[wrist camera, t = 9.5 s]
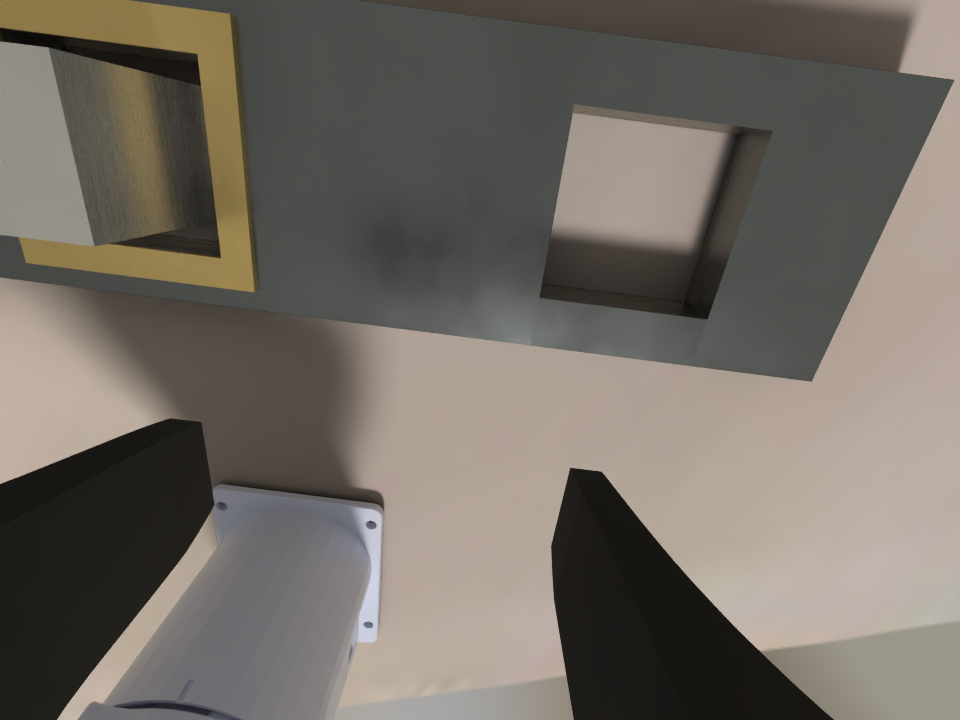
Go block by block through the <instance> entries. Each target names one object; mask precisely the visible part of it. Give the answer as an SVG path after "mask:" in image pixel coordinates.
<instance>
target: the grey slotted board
mask: <svg viewBox="0 0 960 720" xmlns="http://www.w3.org/2000/svg"><path fill="white" fill-rule="evenodd" d="M0 42H8V43H16V44H24V45H32V46H40V47H48V48H52V49H56V50H60V51H64V52H65V47H64V45H65V46H73V47H80V48H88V49H95V50H103V51H110V52H118V53H126V54H133V55H141V56H148V57H156V58H163V59H171V60H179V61H186V62H194V63H198V64H199V72H200V81H201V89H202V98H203V107H204V115H205V124H206V133H207V141H208V150H209V158H210V167H211V176H212V184H213V193H214V202H215V210H216V219H217V227H218V236H219V242H216V241H208V240H200V239H193V238H185V237H177V236H170V235H162V234H153V235H148V236H143V237H138V238H133V239H129V240H124V241H119V242H114V243H109V244H105V245H100V246H95V247H94V246H86V245H78V244H70V243H62V242H54V241H46V240H38V239H30V238H22V237H14V236H6V235H0V277H2V278H10V279H18V280H26V281H33V282H41V283H49V284H57V285H65V286H72V287H80V288H88V289H96V290H103V291H111V292H119V293H127V294H135V295H142V296H150V297H158V298H166V299H173V300H181V301H189V302H197V303H205V304H212V305H220V306H228V307H236V308H243V309H251V310H259V311H267V312H275V313H282V314H290V315H298V316H306V317H314V318H321V319H329V320H337V321H345V322H352V323H360V324H368V325H376V326H384V327H391V328H399V329H407V330H415V331H422V332H430V333H438V334H446V335H454V336H461V337H469V338H477V339H485V340H492V341H500V342H508V343H516V344H524V345H531V346H539V347H547V348H555V349H562V350H570V351H578V352H586V353H594V354H601V355H609V356H617V357H625V358H633V359H640V360H648V361H656V362H664V363H671V364H679V365H687V366H695V367H703V368H710V369H718V370H726V371H734V372H741V373H749V374H757V375H765V376H773V377H780V378H788V379H796V380H804V381H811V382H812V380H813V378H814V375H815V373H816V371H817V369H818V367H819V365H820V363H821V361H822V359H823V356H824V354H825V352H826V350H827V348H828V346H829V344H830V342H831V340H832V337H833V335H834V333H835V331H836V329H837V327H838V325H839V323H840V320H841V318H842V316H843V314H844V312H845V310H846V308H847V306H848V304H849V301H850V299H851V297H852V295H853V293H854V291H855V289H856V287H857V285H858V282H859V280H860V278H861V276H862V274H863V272H864V270H865V268H866V266H867V263H868V261H869V259H870V257H871V255H872V253H873V251H874V249H875V247H876V244H877V242H878V240H879V238H880V236H881V234H882V232H883V230H884V228H885V225H886V223H887V221H888V219H889V217H890V215H891V213H892V211H893V209H894V206H895V204H896V202H897V200H898V198H899V196H900V194H901V192H902V189H903V187H904V185H905V183H906V181H907V179H908V177H909V175H910V173H911V170H912V168H913V166H914V164H915V162H916V160H917V158H918V156H919V154H920V151H921V149H922V147H923V145H924V143H925V141H926V139H927V137H928V135H929V132H930V130H931V128H932V126H933V124H934V122H935V120H936V118H937V116H938V113H939V111H940V109H941V107H942V105H943V103H944V101H945V99H946V97H947V94H948V92H949V90H950V88H951V86H952V84H953V82H954V80H951V79H944V78H936V77H929V76H921V75H914V74H906V73H899V72H891V71H884V70H876V69H869V68H861V67H854V66H846V65H839V64H831V63H824V62H816V61H809V60H801V59H794V58H786V57H779V56H771V55H764V54H757V53H749V52H742V51H734V50H727V49H719V48H712V47H704V46H697V45H689V44H682V43H674V42H667V41H659V40H652V39H644V38H637V37H629V36H622V35H614V34H607V33H599V32H592V31H584V30H577V29H569V28H562V27H554V26H547V25H539V24H532V23H524V22H517V21H509V20H502V19H494V18H487V17H479V16H472V15H464V14H457V13H449V12H442V11H434V10H427V9H419V8H412V7H404V6H397V5H390V4H382V3H375V2H367V1H360V0H0ZM572 113H579V114H587V115H595V116H602V117H610V118H617V119H625V120H632V121H640V122H647V123H655V124H663V125H670V126H678V127H685V128H693V129H700V130H708V131H716V132H723V133H731V134H738V138H737V141H736V144H735V147H734V150H733V153H732V156H731V160H730V163H729V166H728V169H727V172H726V175H725V178H724V182H723V185H722V188H721V191H720V194H719V197H718V200H717V204H716V207H715V210H714V213H713V216H712V219H711V222H710V226H709V229H708V232H707V235H706V238H705V241H704V244H703V248H702V251H701V254H700V257H699V260H698V263H697V266H696V270H695V273H694V276H693V279H692V282H691V285H690V288H689V292H688V295H687V298H686V301H685V302H679V301H671V300H664V299H656V298H648V297H641V296H633V295H625V294H617V293H610V292H602V291H594V290H587V289H579V288H571V287H563V286H556V285H548V284H542V280H543V275H544V269H545V264H546V258H547V253H548V247H549V242H550V236H551V230H552V225H553V219H554V214H555V208H556V203H557V197H558V191H559V186H560V180H561V175H562V169H563V164H564V158H565V152H566V147H567V141H568V136H569V130H570V125H571V119H572Z"/></svg>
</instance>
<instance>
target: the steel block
mask: <svg viewBox="0 0 960 720" xmlns="http://www.w3.org/2000/svg"><path fill="white" fill-rule="evenodd" d="M215 221H217V219H216V210H215V202H214V193H213V184H212V176H211V167H210V158H209V150H208V141H207V133H206V124H205V115H204V107H203V98H202V89H201V86H199V85H195V84H191V83H187V82H183V81H179V80H175V79H171V78H167V77H163V76H159V75H155V74H151V73H147V72H143V71H139V70H136V69H132V68H128V67H124V66H120V65H116V64H112V63H108V62H104V61H100V60H96V59H92V58H88V57H84V56H80V55H76V54H72V53H68V52H64V51H60V50H56V49H52V48H48V47H40V46H32V45H24V44H16V43H8V42H0V235H6V236H14V237H22V238H30V239H38V240H46V241H54V242H62V243H70V244H78V245H86V246H94V247H95V246H100V245H105V244H109V243H114V242H119V241H124V240H129V239H133V238H138V237H143V236H148V235H153V234H158V233H162V232H167V231H172V230H177V229H182V228H187V227H191V226H196V225H201V224H206V223H211V222H215Z"/></svg>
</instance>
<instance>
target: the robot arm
mask: <svg viewBox="0 0 960 720" xmlns="http://www.w3.org/2000/svg"><path fill="white" fill-rule="evenodd" d="M224 503H225V504H224ZM212 509H213V515H214V521H215V528H216V534H217V540H218V548H217V549H216V550H215V552H214V553H213V555H212V556H211V557H210V559H209V560H208V561H207V563H206V564H205V565H204V567H203V568H202V569H201V571H200V572H199V574H198V575H197V576H196V578H195V579H194V580H193V582H192V583H191V584H190V586H189V587H188V589H187V590H186V591H185V593H184V594H183V595H182V597H181V598H180V599H179V601H178V602H177V603H176V605H175V606H174V608H173V609H172V610H171V612H170V613H169V614H168V616H167V617H166V618H165V620H164V621H163V622H162V624H161V625H160V627H159V628H158V629H157V631H156V632H155V633H154V635H153V636H152V637H151V639H150V640H149V641H148V643H147V644H146V646H145V647H144V648H143V650H142V651H141V652H140V654H139V655H138V656H137V658H136V659H135V661H134V662H133V663H132V665H131V666H130V667H129V669H128V670H127V671H126V673H125V674H124V675H123V677H122V678H121V680H120V681H119V682H118V684H117V685H116V686H115V688H114V689H113V690H112V692H111V693H110V694H109V696H108V697H107V699H106V700H105V701H104V703H103V704H101V703H98V702H92V703H90V704H89V705H88V706H87V708H86V709H85V710H84V712H83V713H82V714H81V716H80V717H79V718H78V720H334V718H335V714H336V711H337V708H338V705H339V701H340V698H341V695H342V691H343V688H344V685H345V681H346V678H347V675H348V671H349V668H350V665H351V662H352V658H353V655H354V652H355V648H356V645H357V642H358V641H359V642H367V643H372V642H374V641H376V640H377V638H378V634H379V618H380V594H381V570H382V546H383V521H384V511H383V509H382V507H381V506H379V505H378V504H374V503H367V502H359V501H351V500H343V499H335V498H327V497H319V496H311V495H303V494H295V493H287V492H279V491H271V490H263V489H256V488H248V487H240V486H232V485H224V484H223V485H218V486H216V487H215V488H214V489H213V491H212V485H211V479H210V473H209V467H208V461H207V454H206V448H205V442H204V436H203V430H202V423H201V422H194V421H186V420H178V419H167V420H164V421H161V422H158V423H155V424H152V425H149V426H146V427H143V428H141V429H138V430H135V431H133V432H130V433H128V434H125V435H122V436H120V437H117V438H115V439H112V440H110V441H107V442H105V443H102V444H100V445H97V446H95V447H93V448H90V449H88V450H85V451H83V452H80V453H78V454H75V455H73V456H70V457H68V458H65V459H63V460H60V461H58V462H55V463H53V464H50V465H48V466H45V467H43V468H40V469H38V470H35V471H33V472H30V473H28V474H25V475H23V476H20V477H18V478H15V479H12V480H10V481H7V482H4V483H2V484H0V720H57V719H58V717H59V716H60V714H61V713H62V711H63V710H64V708H65V707H66V705H67V704H68V703H69V701H70V700H71V699H72V697H73V696H74V695H75V693H76V692H77V691H78V689H79V688H80V687H81V685H82V684H83V683H84V681H85V680H86V679H87V677H88V676H89V675H90V673H91V672H92V671H93V670H94V668H95V667H96V666H97V665H98V663H99V662H100V661H101V659H102V658H103V657H104V656H105V654H106V653H107V652H108V651H109V649H110V648H111V647H112V646H113V644H114V643H115V642H116V641H117V639H118V638H119V637H120V636H121V634H122V633H123V632H124V631H125V629H126V628H127V627H128V626H129V624H130V623H131V622H132V621H133V619H134V618H135V617H136V616H137V614H138V613H139V612H140V611H141V609H142V608H143V607H144V605H145V604H146V603H147V602H148V600H149V599H150V598H151V597H152V595H153V594H154V593H155V592H156V590H157V589H158V588H159V587H160V585H161V584H162V583H163V581H164V580H165V579H166V578H167V576H168V575H169V574H170V572H171V571H172V570H173V569H174V567H175V566H176V565H177V563H178V562H179V561H180V560H181V558H182V557H183V556H184V554H185V553H186V551H187V550H188V548H189V547H190V545H191V543H192V542H193V540H194V539H195V537H196V536H197V534H198V532H199V531H200V529H201V527H202V526H203V524H204V522H205V520H206V519H207V517H208V515H209V514H210V512H211V510H212ZM370 521H373V522H375V523H371V522H370ZM551 551H552V574H553V590H554V602H555V608H556V614H557V621H558V627H559V633H560V639H561V645H562V651H563V657H564V663H565V669H566V675H567V681H568V687H569V692H570V699H571V705H572V711H573V717H574V720H833V719H832V718H831V717H830V716H829V715H828V714H827V713H825V712H824V711H823V710H822V709H821V708H820V707H819V706H817V705H816V704H815V703H814V702H813V701H812V700H811V699H810V698H809V697H808V696H806V695H805V694H804V693H803V692H802V691H801V690H800V689H799V688H798V687H797V686H795V685H794V684H793V683H792V682H791V681H790V680H789V679H788V678H787V677H786V676H785V675H784V674H782V672H781V671H780V670H779V669H778V668H776V667H775V666H774V665H773V664H772V663H771V662H770V661H769V660H768V659H767V658H766V657H765V656H764V655H763V654H762V653H761V652H760V651H759V650H758V649H757V648H756V647H755V646H754V645H753V644H752V643H750V642H749V641H748V640H747V639H746V638H745V637H744V636H743V635H742V634H741V633H740V632H739V631H738V630H737V629H736V628H735V627H734V626H733V625H732V624H731V623H730V622H729V620H728V619H727V618H726V617H725V616H724V615H723V614H722V613H721V612H720V611H719V610H718V609H717V608H716V607H715V606H714V605H713V603H712V602H711V601H710V600H709V599H708V598H707V597H706V596H705V595H704V594H703V593H702V592H701V591H700V590H699V588H698V587H697V586H696V585H695V584H694V583H693V582H692V581H691V580H690V579H689V577H688V576H687V575H686V574H685V573H684V572H683V571H682V570H681V568H680V567H679V566H678V565H677V564H676V563H675V562H674V560H673V559H672V558H671V557H670V556H669V555H668V553H667V552H666V551H665V550H664V549H663V548H662V546H661V545H660V544H659V543H658V542H657V540H656V539H655V538H654V537H653V536H652V534H651V533H650V532H649V531H648V529H647V528H646V527H645V526H644V525H643V523H642V522H641V521H640V520H639V518H638V517H637V516H636V515H635V513H634V512H633V511H632V510H631V508H630V507H629V506H628V505H627V503H626V502H625V501H624V499H623V498H622V497H621V496H620V494H619V493H618V492H617V490H616V489H615V488H614V487H613V485H612V484H611V483H610V482H609V480H608V479H607V478H606V477H605V475H604V474H603V473H602V472H599V471H591V470H583V469H575V468H570V471H569V475H568V479H567V484H566V488H565V492H564V496H563V500H562V504H561V508H560V512H559V516H558V521H557V525H556V529H555V533H554V537H553V541H552V545H551Z"/></svg>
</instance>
